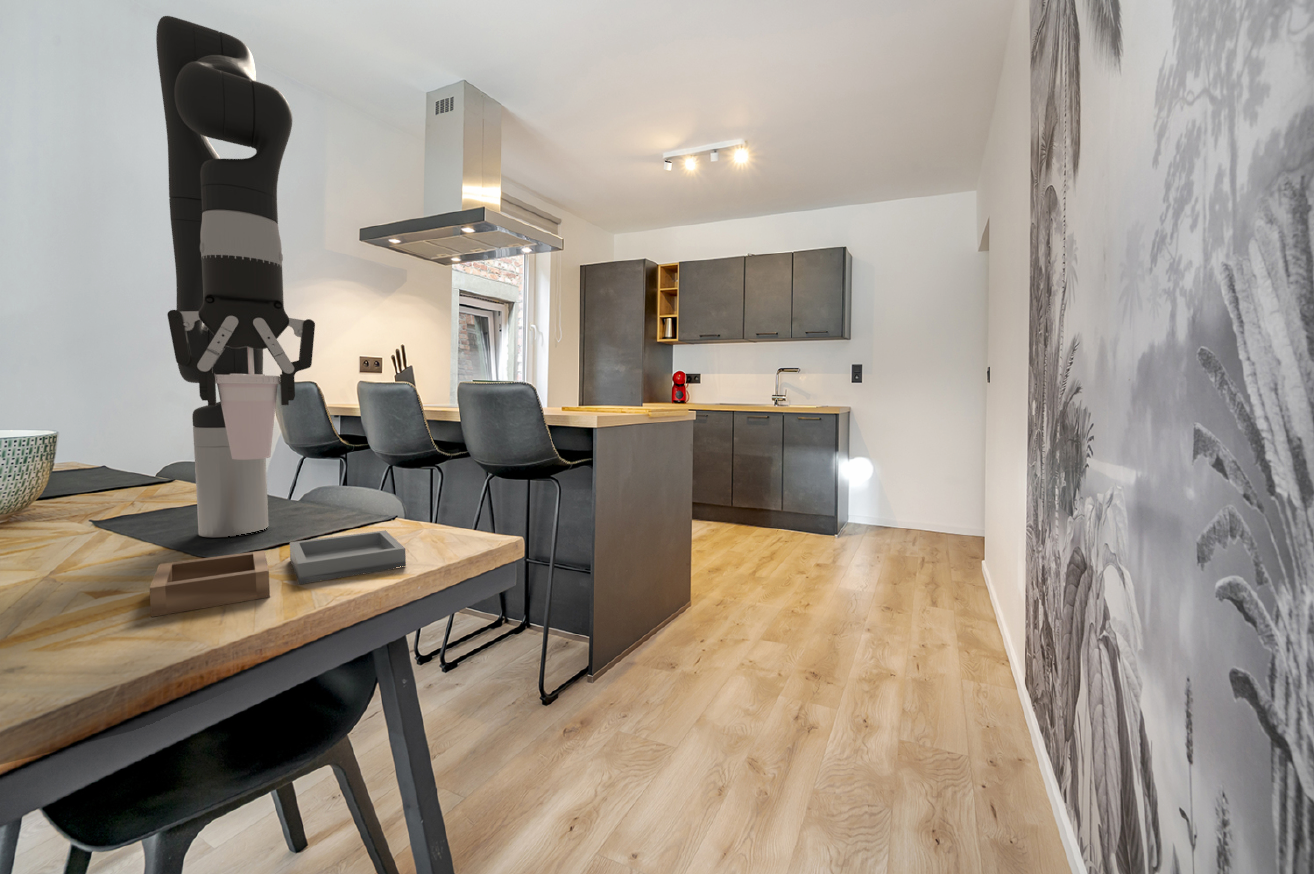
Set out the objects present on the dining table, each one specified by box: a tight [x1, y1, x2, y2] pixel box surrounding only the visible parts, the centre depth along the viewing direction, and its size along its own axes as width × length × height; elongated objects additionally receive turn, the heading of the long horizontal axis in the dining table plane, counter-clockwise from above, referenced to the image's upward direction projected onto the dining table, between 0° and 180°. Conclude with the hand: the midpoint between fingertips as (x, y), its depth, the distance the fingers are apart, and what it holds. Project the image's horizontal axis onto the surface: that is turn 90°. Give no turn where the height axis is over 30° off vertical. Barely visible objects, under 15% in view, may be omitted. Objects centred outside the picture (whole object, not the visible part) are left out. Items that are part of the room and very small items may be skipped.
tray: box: [289, 530, 407, 585], centre depth 76 cm, size 12×12×2 cm
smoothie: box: [214, 347, 281, 460], centre depth 67 cm, size 6×6×14 cm
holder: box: [149, 550, 271, 618], centre depth 65 cm, size 10×10×3 cm
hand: (249, 404), depth 67 cm, fingers closed on smoothie, 6 cm apart
